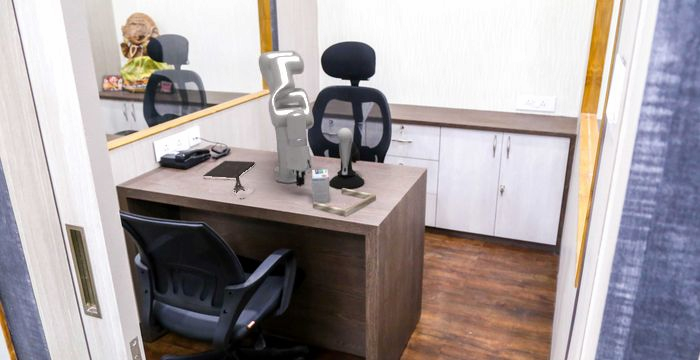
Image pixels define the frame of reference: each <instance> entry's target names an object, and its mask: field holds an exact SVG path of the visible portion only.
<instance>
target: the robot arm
mask: <svg viewBox="0 0 700 360" xmlns="http://www.w3.org/2000/svg"><path fill="white" fill-rule="evenodd" d="M258 67H259V70H260V73H261V76H262V78H263V80H264V82H265V83H266V85H267V88H268V91H269V95H270V97H269V100H268V112H269V117H270V121H271V124H272V126H273V127H274V132H275V136H276V137H275V138H276V145H277V158H278V166H276V167H275V169H274V170H273V172H274V173H277V176H276V177H275V178H276V179H275V180H276V181H277V182H279V183H281V182H282V184H283V183H284V184H295V183H296V186H297V187H302V186H304V185H305V176H306V175H308V174H311V168H312V159H311V157H312V156H311V153H310V152H311V151H310V147H309V145H308V136H307V135H308V133H307V130H309V129H311V128H312V127H313V126H314V123H315V120H314V115H313V110H312V107H311V103H310V100H309V96H308V93H307V91H306V90H305V89H304V88H302V87H296V85H295V81H294V79H295V78H294V77H293V75H294V76H295V75H301V74H303V73H304V70H305V63H304V59H303V58H302V55H300V53H298V52H297V51H295V50H276V51H275V50H274V51H268V52H263V53H261V54H260V55H259V57H258Z"/></svg>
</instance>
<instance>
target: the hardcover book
mask: <svg viewBox="0 0 700 360" xmlns="http://www.w3.org/2000/svg"><path fill="white" fill-rule="evenodd" d="M254 164H255V165H256V163H255V161H241V160H224V161H222V162H221V163H219V164H217V165H216V166H215V167H213V168H211V170H209V171H207V172H206V173H205V174H203V175H202V176H203V177H204V176H212V177H226V178H236V166H237V170H238V175H239V176H240V175H241V174H242V173H243V172H245V171H246V170H248V169H249V168H250V167H252V166H253V165H254ZM253 167H254V166H253ZM253 167H252V168H253ZM248 171H249V170H248Z"/></svg>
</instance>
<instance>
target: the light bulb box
mask: <svg viewBox="0 0 700 360" xmlns="http://www.w3.org/2000/svg"><path fill="white" fill-rule="evenodd" d="M329 181H330V179H329V170H328V169H327V168H323V169H322V168H321V169H312V170H311V191H312V204H313V203H314V202H317V203H321V204H325V203H330V185H329Z"/></svg>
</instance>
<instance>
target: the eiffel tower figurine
mask: <svg viewBox="0 0 700 360" xmlns="http://www.w3.org/2000/svg"><path fill="white" fill-rule="evenodd" d="M243 187H244V186H243V185H242V183H241V180H240V178H239V175H238V170H237V166H236V180H235V184H234V188H233V189H232V191H233V190H235V191H236V193H237V192H238V191H240V190H243V191H245V188H243Z"/></svg>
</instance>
